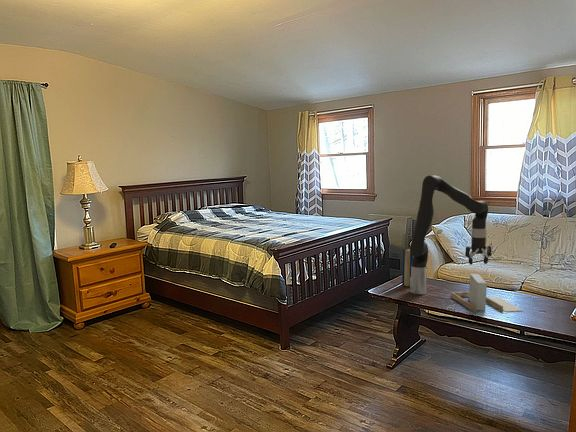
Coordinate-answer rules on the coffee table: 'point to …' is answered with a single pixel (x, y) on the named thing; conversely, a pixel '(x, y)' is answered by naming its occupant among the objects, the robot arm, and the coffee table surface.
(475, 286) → the skincare box
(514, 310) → the beige flat board
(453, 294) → the wooden u-shaped frame
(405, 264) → the book
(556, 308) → the coffee table surface
